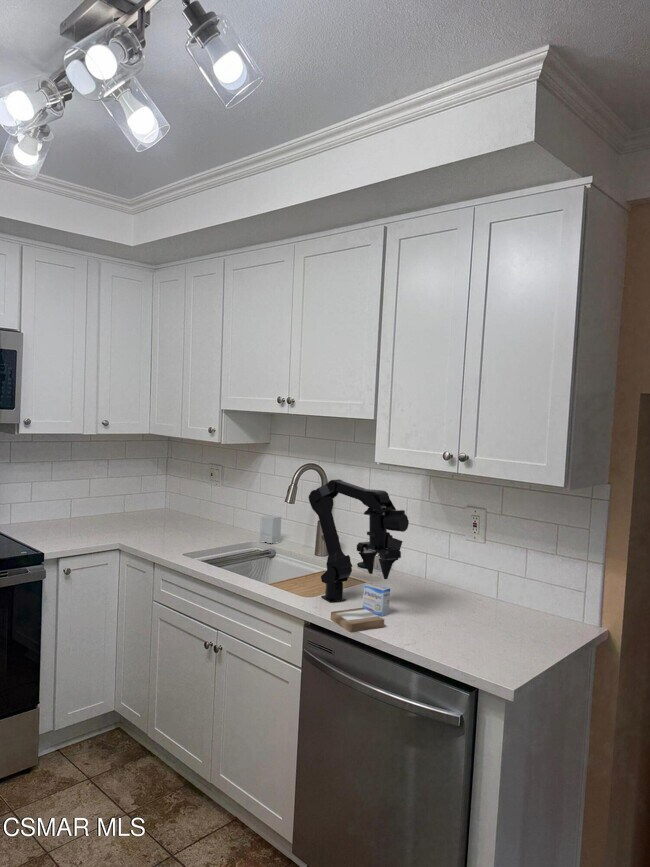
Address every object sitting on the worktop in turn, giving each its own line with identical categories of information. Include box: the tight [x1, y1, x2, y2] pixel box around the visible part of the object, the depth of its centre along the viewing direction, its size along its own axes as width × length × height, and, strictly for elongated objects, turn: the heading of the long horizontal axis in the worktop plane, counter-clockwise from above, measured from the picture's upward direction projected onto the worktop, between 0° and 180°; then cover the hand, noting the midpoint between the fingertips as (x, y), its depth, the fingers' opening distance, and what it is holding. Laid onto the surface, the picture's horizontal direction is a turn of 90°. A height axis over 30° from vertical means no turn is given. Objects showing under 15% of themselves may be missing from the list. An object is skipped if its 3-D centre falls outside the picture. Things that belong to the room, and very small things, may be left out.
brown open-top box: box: [330, 607, 385, 633], centre depth 197 cm, size 12×12×3 cm
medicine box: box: [362, 583, 391, 617], centre depth 209 cm, size 8×4×9 cm, turn 52°
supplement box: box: [259, 514, 282, 544], centre depth 307 cm, size 7×7×13 cm
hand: (378, 576), depth 209 cm, fingers open, 9 cm apart
